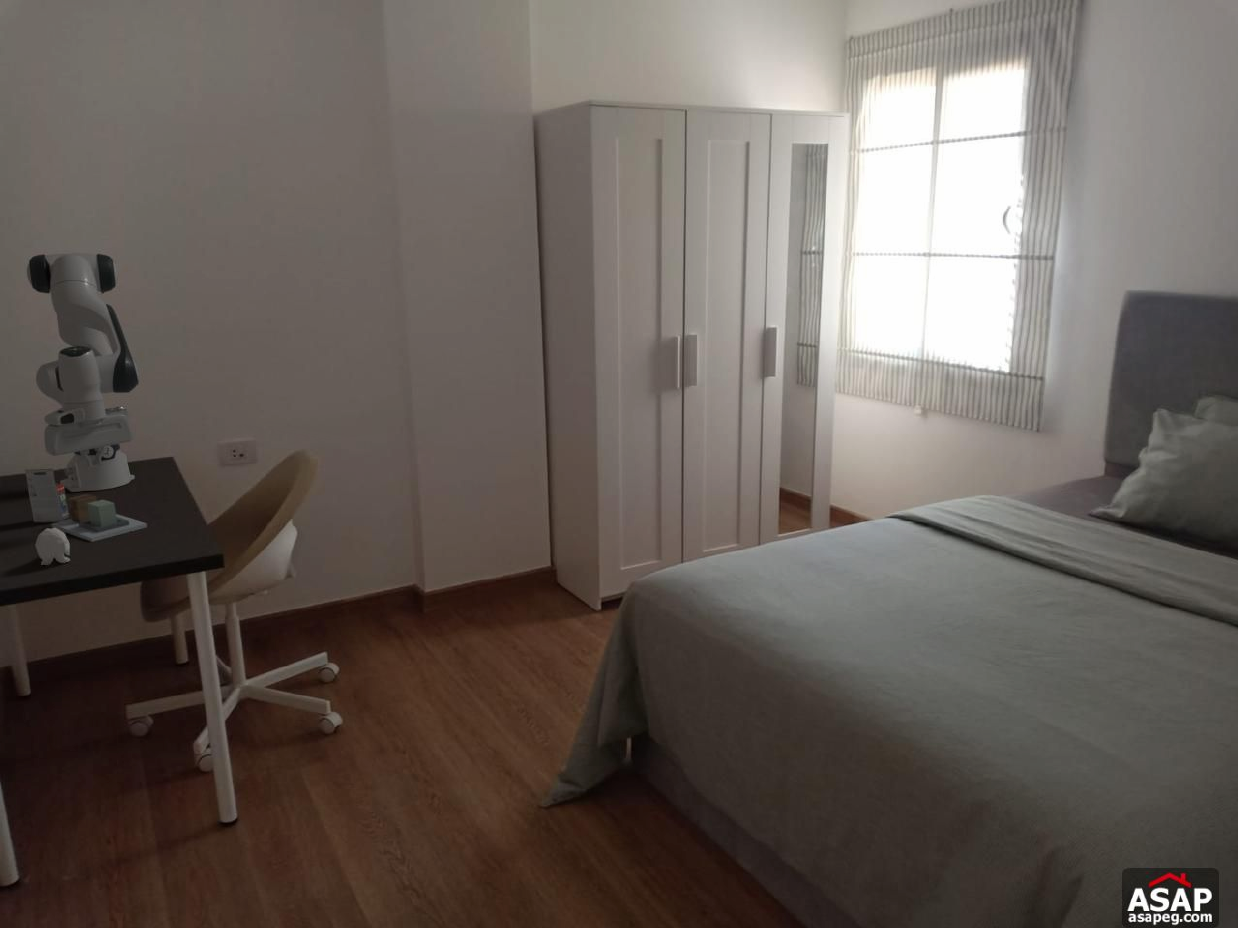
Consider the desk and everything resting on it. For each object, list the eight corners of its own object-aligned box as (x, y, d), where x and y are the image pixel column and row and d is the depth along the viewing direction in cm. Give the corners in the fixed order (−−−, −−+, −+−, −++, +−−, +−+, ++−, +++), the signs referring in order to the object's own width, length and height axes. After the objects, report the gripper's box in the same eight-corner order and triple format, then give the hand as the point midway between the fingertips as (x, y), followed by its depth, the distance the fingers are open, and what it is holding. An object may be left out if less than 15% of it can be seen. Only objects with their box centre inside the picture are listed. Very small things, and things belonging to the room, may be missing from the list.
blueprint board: (51, 527, 252) (47, 501, 251) (106, 514, 263) (102, 489, 261) (91, 541, 239) (87, 514, 238) (147, 527, 250) (143, 501, 248)
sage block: (90, 525, 249) (87, 503, 248) (106, 521, 252) (103, 499, 251) (102, 529, 246) (98, 506, 244) (117, 525, 249) (114, 502, 247)
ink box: (41, 518, 261) (32, 466, 257) (70, 518, 260) (61, 465, 257) (33, 522, 257) (23, 469, 253) (62, 522, 257) (53, 468, 253)
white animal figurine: (31, 532, 218) (41, 523, 229) (37, 569, 220) (47, 558, 231) (63, 528, 221) (71, 519, 232) (68, 565, 222) (77, 554, 233)
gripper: (120, 404, 252) (129, 456, 255) (37, 418, 236) (47, 472, 239) (133, 406, 248) (141, 458, 251) (48, 420, 232) (58, 475, 236)
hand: (94, 465), depth 245 cm, fingers closed
